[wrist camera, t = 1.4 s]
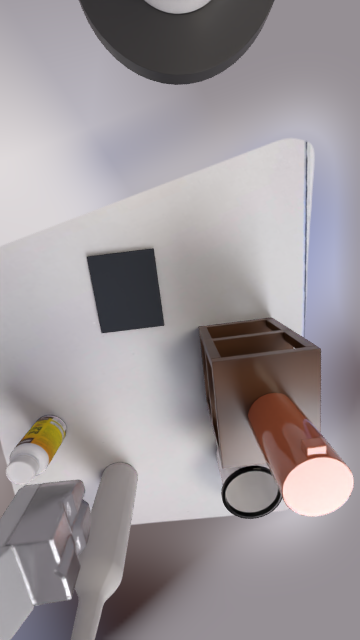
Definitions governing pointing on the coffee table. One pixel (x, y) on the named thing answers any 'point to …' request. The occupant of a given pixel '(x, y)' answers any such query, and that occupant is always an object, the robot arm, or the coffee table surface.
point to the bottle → (104, 547)
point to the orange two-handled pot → (299, 457)
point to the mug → (249, 490)
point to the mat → (126, 290)
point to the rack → (255, 380)
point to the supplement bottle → (36, 450)
